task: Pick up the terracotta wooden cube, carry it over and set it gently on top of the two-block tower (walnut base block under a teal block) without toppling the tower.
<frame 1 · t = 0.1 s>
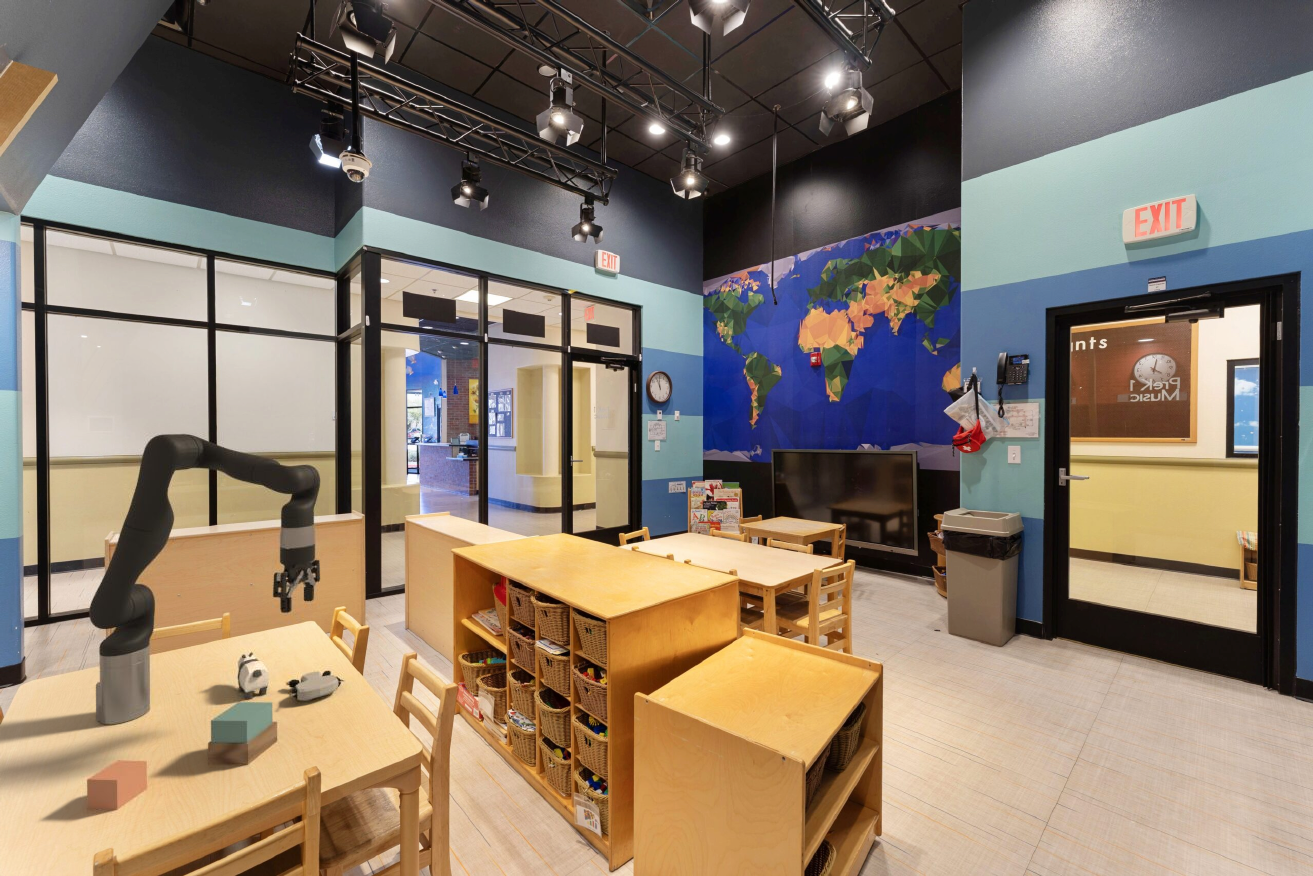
hand: (297, 606, 138), 29 cm above the table, fingers open, 8 cm apart
terracotta cube: (117, 799, 109), on the table
tower base: (243, 753, 124), on the table, touching tower top
robot toy: (314, 693, 152), on the table
giant panda: (251, 691, 153), on the table
tower top: (242, 732, 124), point 5 cm above the table, touching tower base
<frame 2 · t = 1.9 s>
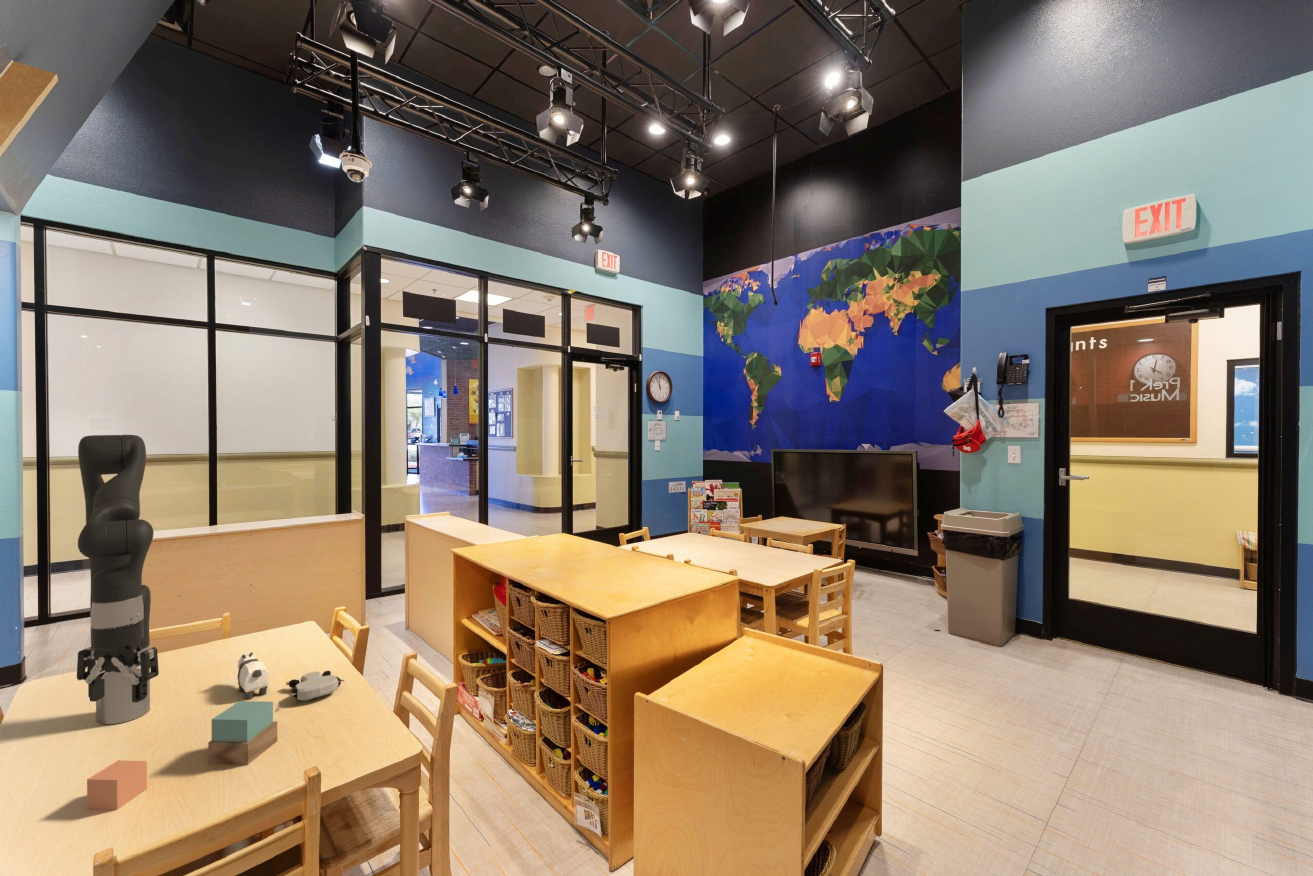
hand: (118, 700, 108), 20 cm above the table, fingers open, 8 cm apart
nothing on the table moved.
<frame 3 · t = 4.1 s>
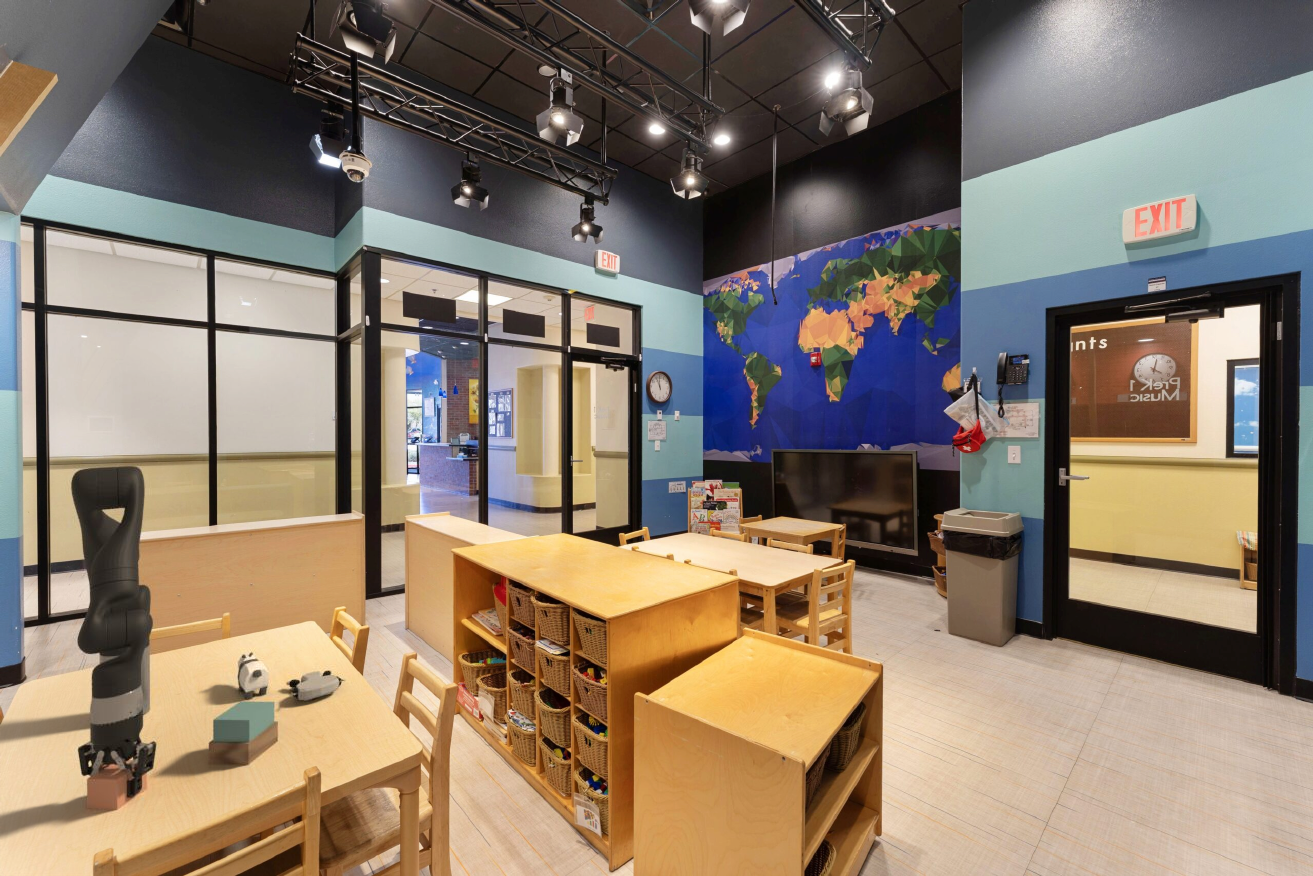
hand: (117, 794, 108), 1 cm above the table, fingers closed on terracotta cube, 6 cm apart
terracotta cube: (117, 798, 109), on the table, touching gripper
everything else where it was.
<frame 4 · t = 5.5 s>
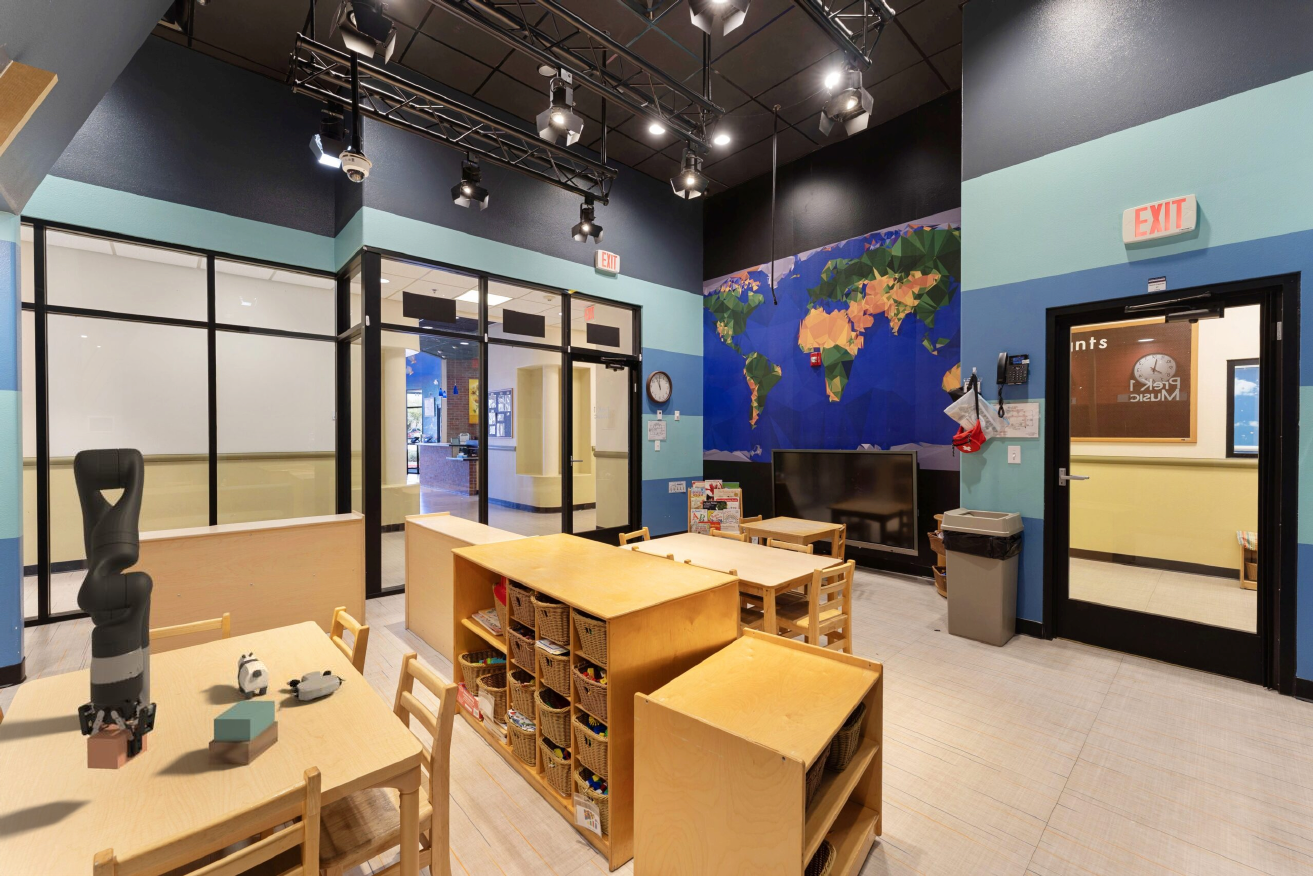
hand: (118, 754, 109), 9 cm above the table, fingers closed on terracotta cube, 6 cm apart
terracotta cube: (118, 759, 109), point 8 cm above the table, touching gripper
everything else where it was.
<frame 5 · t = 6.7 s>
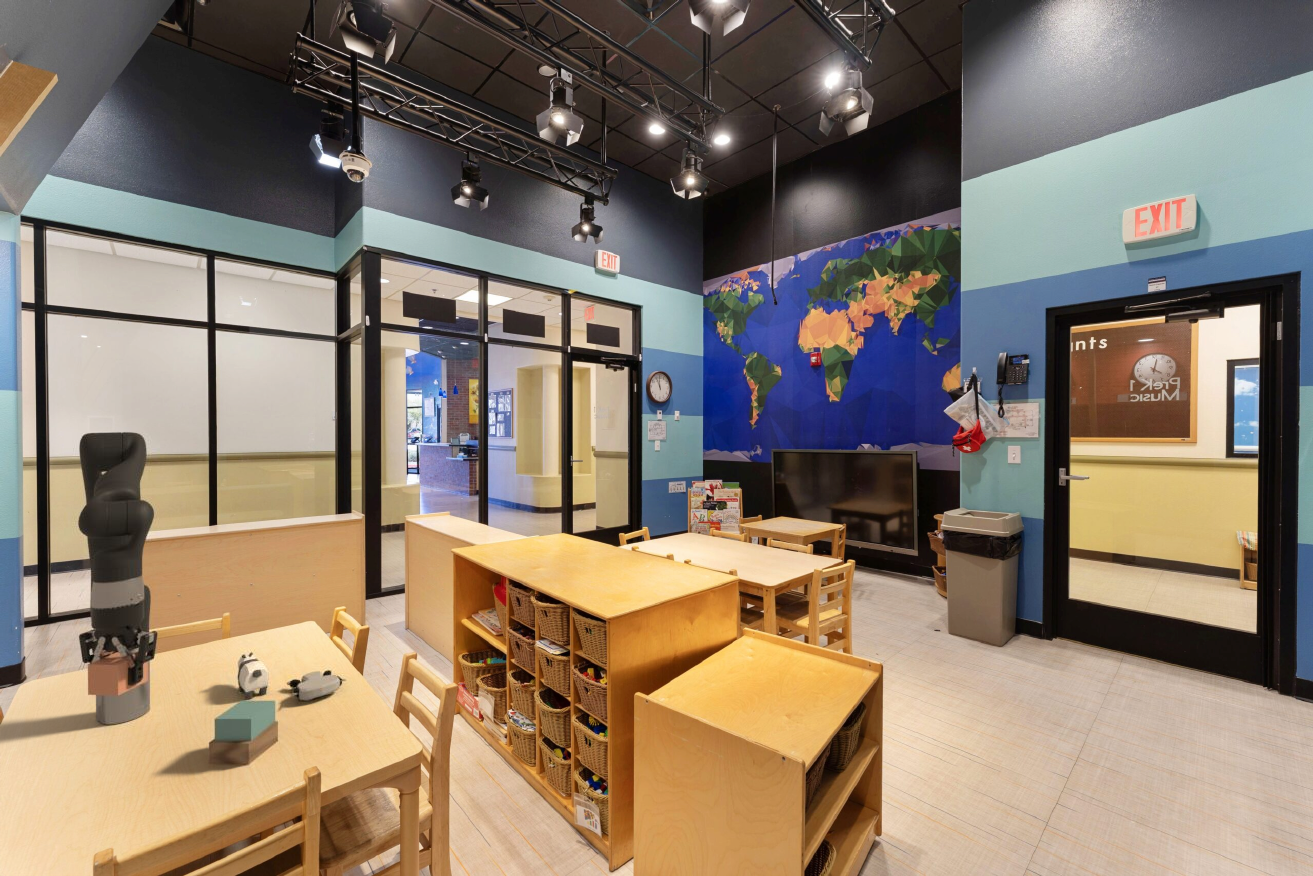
hand: (118, 683, 108), 23 cm above the table, fingers closed on terracotta cube, 6 cm apart
terracotta cube: (118, 687, 108), point 23 cm above the table, touching gripper
everything else where it was.
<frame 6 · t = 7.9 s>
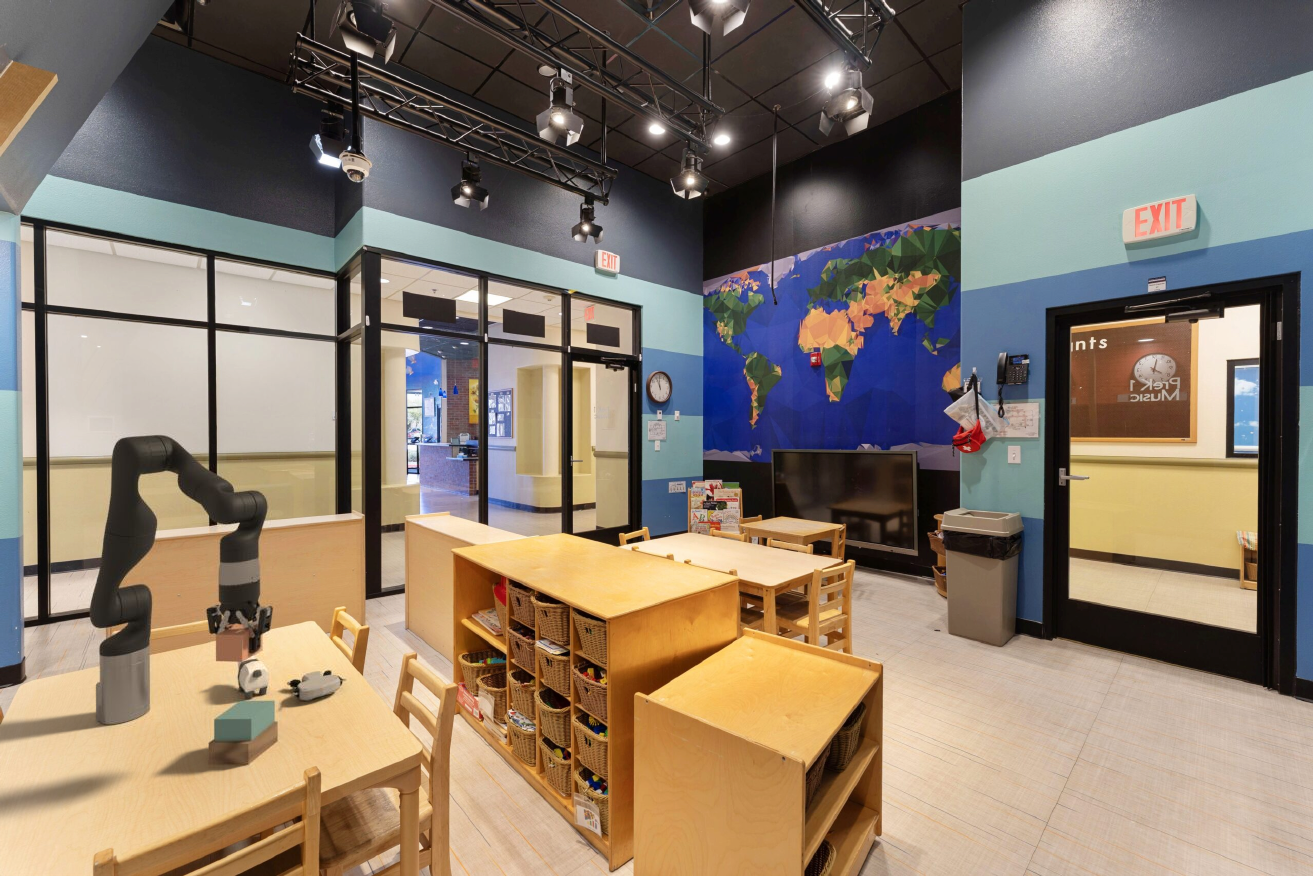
hand: (240, 651, 123), 24 cm above the table, fingers closed on terracotta cube, 6 cm apart
terracotta cube: (239, 655, 123), point 23 cm above the table, touching gripper
tower base: (244, 753, 124), on the table
tower top: (245, 731, 125), point 5 cm above the table
everything else where it was.
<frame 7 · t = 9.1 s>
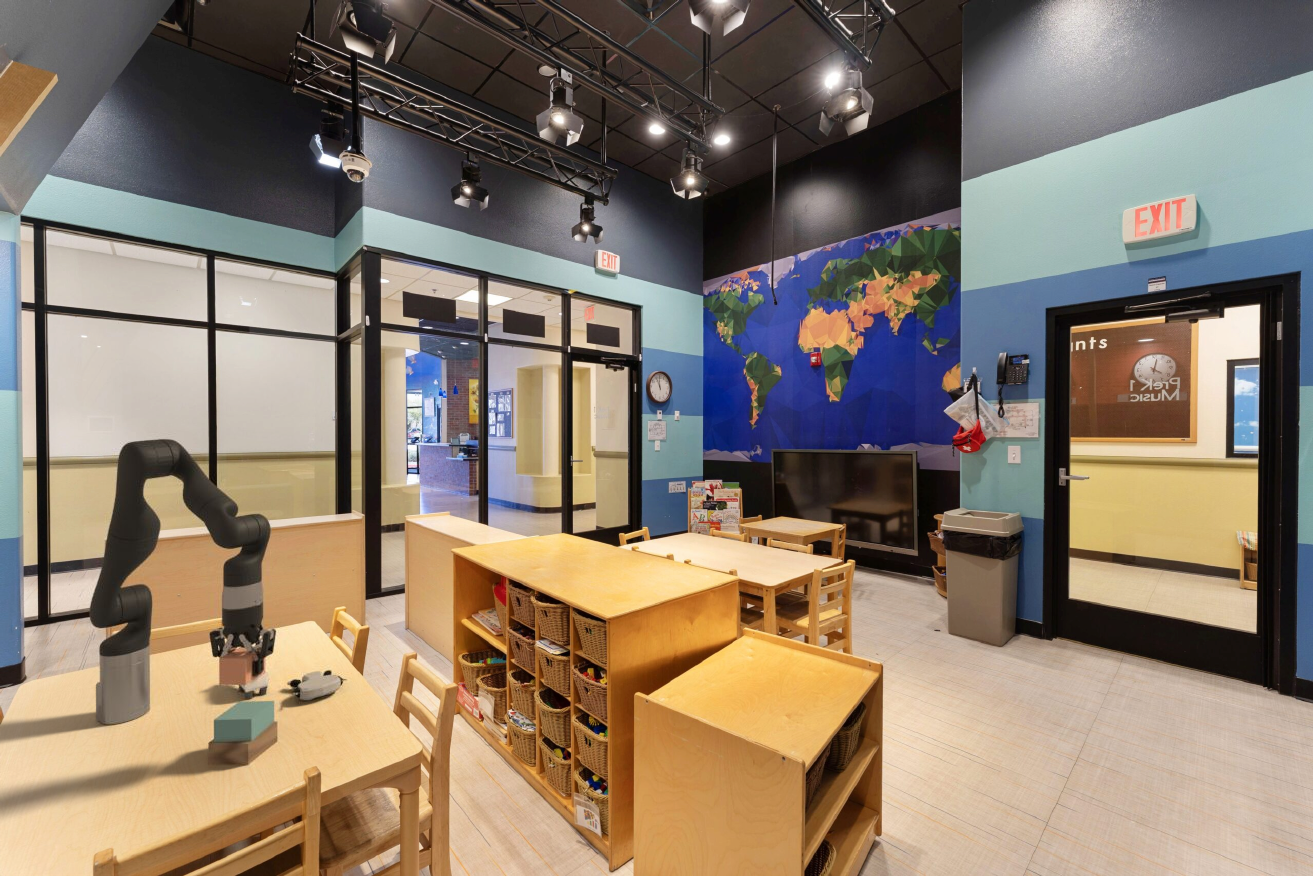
hand: (243, 674, 124), 18 cm above the table, fingers closed on terracotta cube, 6 cm apart
terracotta cube: (242, 678, 124), point 17 cm above the table, touching gripper
everything else where it was.
when the fingers open (12 cm above the table, at t = 10.7 s): terracotta cube drops 1 cm, point 10 cm above the table.
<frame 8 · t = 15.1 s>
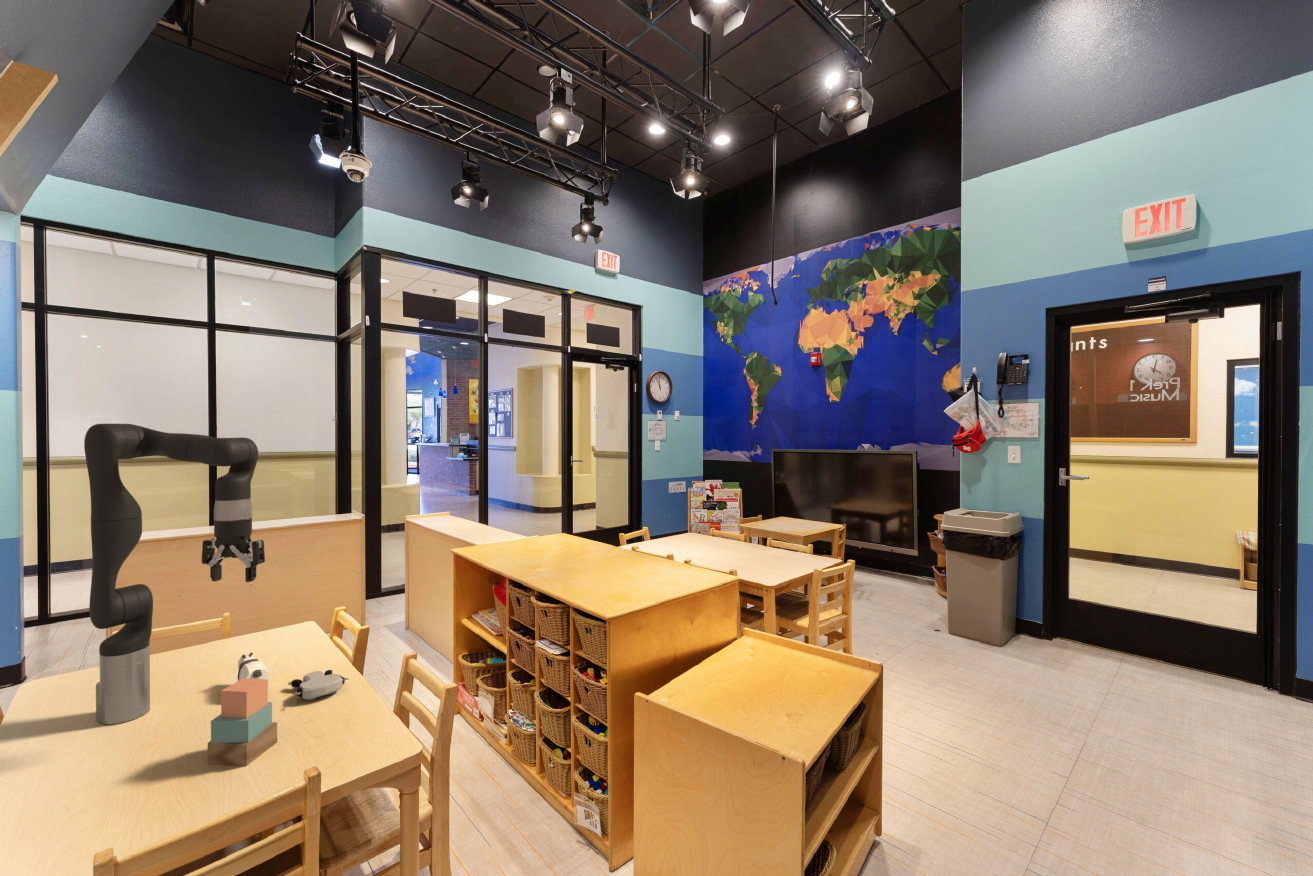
hand: (233, 581, 136), 36 cm above the table, fingers open, 8 cm apart
terracotta cube: (245, 710, 124), point 10 cm above the table
tower base: (243, 753, 124), on the table, touching tower top
tower top: (242, 732, 124), point 5 cm above the table, touching tower base
everything else where it was.
at the end: terracotta cube 0.4 cm off-centre on the tower top, point 5.0 cm above the tower top's base; tower top tilted 0°; tower top 0.2 cm from the tower base (horizontally) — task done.
